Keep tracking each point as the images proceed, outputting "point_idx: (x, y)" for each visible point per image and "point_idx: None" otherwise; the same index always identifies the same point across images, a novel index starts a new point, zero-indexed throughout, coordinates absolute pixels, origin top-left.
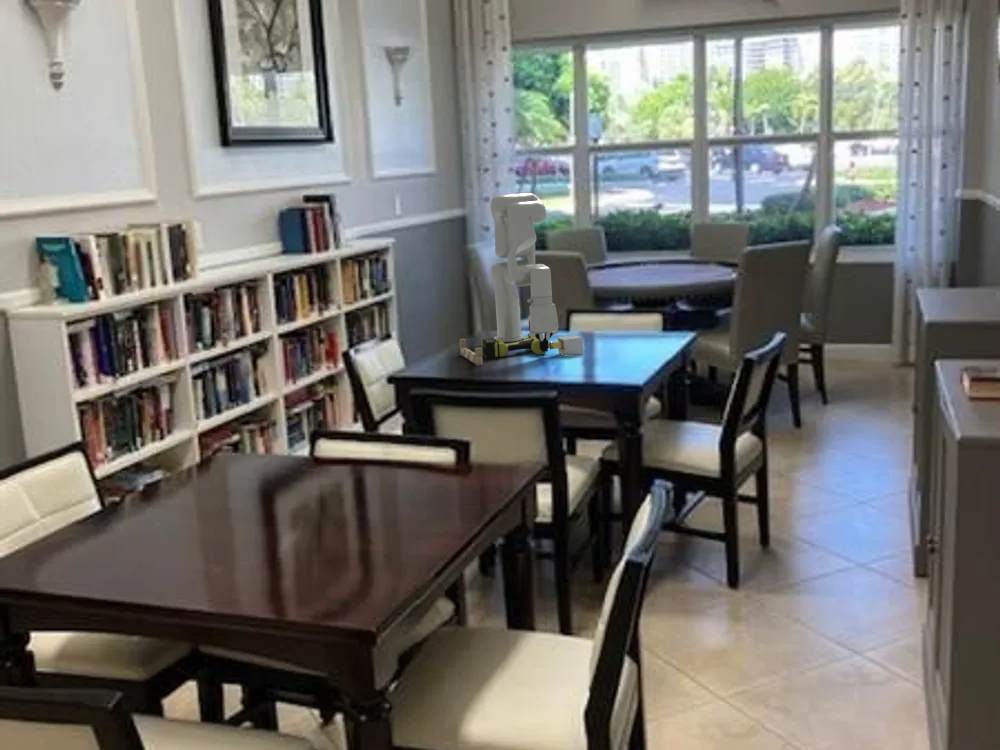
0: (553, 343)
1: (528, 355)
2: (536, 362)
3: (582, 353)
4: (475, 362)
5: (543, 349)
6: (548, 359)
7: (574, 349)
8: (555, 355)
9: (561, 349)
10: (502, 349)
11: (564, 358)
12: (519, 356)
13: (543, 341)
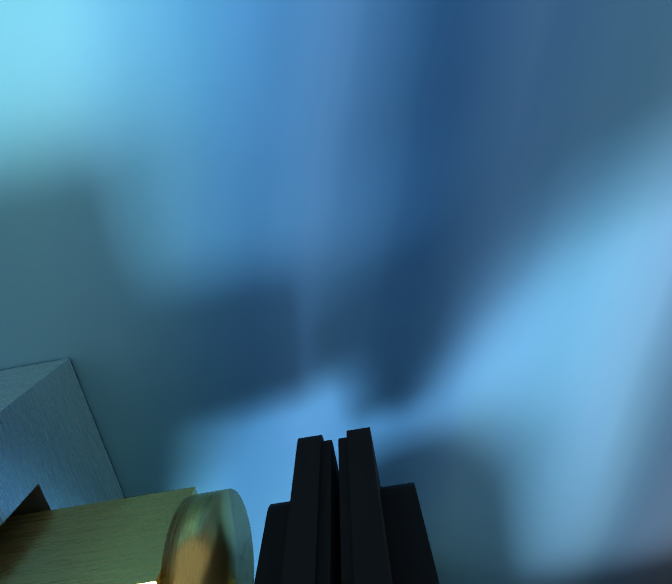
0: (151, 573)
1: (511, 576)
2: (548, 50)
3: None
4: None
5: (373, 452)
6: (322, 228)
7: None
8: (197, 463)
9: None
10: None
11: (77, 206)
12: (623, 561)
13: (382, 582)
